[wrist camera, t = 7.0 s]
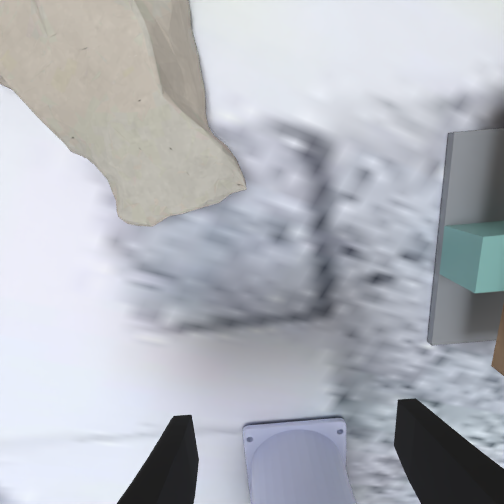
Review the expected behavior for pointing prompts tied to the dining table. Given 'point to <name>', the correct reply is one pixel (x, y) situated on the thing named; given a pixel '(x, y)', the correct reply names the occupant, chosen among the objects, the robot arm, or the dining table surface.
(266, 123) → the dining table surface
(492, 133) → the board
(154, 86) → the rock
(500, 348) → the walnut bar
